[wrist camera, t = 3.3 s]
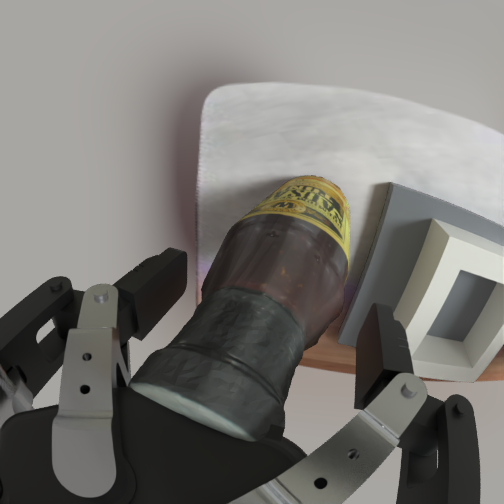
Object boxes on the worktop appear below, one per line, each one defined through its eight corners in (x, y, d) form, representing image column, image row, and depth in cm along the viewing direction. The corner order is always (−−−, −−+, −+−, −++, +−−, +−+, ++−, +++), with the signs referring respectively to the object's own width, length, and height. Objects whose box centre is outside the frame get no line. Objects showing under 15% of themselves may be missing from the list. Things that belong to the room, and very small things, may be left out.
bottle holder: (539, 246, 15) (566, 270, 10) (476, 360, 22) (487, 392, 18) (390, 182, 19) (406, 197, 14) (338, 333, 26) (334, 372, 22)
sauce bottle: (351, 175, 20) (400, 398, 3) (345, 247, 23) (322, 497, 5) (271, 170, 22) (57, 313, 5) (272, 240, 24) (140, 445, 7)
